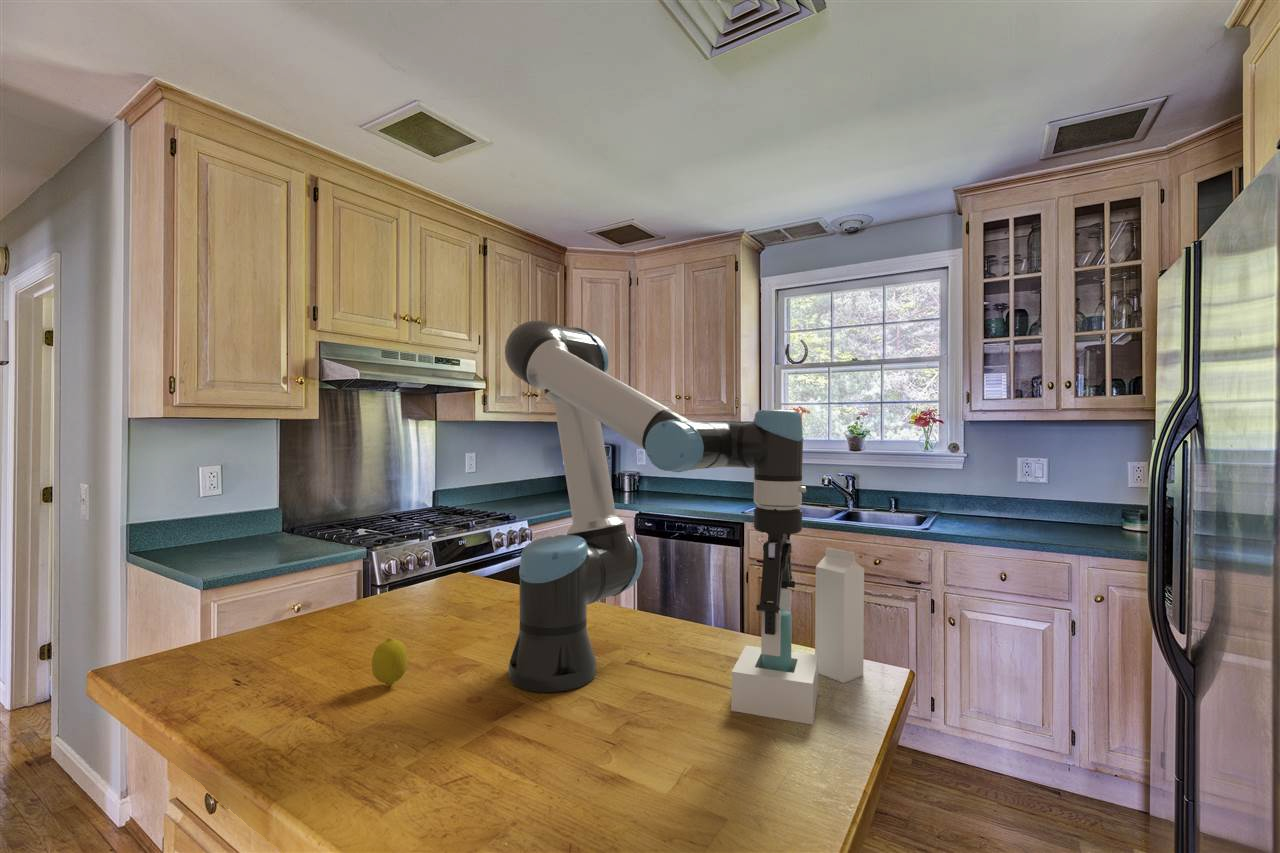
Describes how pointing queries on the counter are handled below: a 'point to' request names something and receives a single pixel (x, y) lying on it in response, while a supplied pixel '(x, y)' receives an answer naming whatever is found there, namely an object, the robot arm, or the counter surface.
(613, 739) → the counter surface
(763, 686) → the socket
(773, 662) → the peg
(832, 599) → the milk
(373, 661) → the lemon
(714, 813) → the counter surface
